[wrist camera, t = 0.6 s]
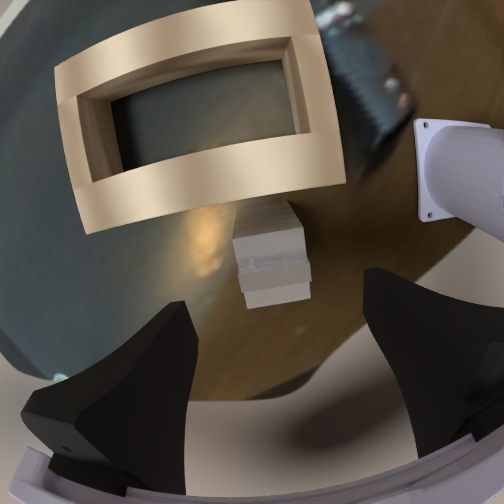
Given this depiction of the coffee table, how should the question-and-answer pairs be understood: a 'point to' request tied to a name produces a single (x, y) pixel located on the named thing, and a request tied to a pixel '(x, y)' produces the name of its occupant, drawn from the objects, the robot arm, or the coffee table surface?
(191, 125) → the coffee table surface
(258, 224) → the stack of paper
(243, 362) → the coffee table surface
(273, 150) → the tan wooden rectangular frame
